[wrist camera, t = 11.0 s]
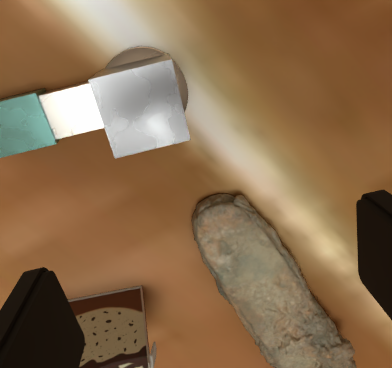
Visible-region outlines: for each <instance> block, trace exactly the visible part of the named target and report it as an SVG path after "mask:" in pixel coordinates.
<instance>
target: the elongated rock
mask: <svg viewBox="0 0 392 368" xmlns="http://www.w3.org/2000/svg"><path fill="white" fill-rule="evenodd" d="M192 225H193V234H194V240H195V241H196V242H197V244H198V248H199V250H200V252H201V256H202V259H203V262H204V263H205V265H206V266H207V267H208V268H209V270H210V272H211V274H212V275H213V276H214V278H215V279H216V284H217V286H218V290H219V293H220V294H221V295H222V296H224V298H225V299H226V300H228V301H229V304H231V305H232V306H233V307H234V309H235V311H236V313H237V314H238V316H239V318H240V320H241V321H242V323H243V325H244V327H245V329H246V330H247V331H248V332H249V333H250V335H251V336H252V337H253V338H254V339H255V344H256V345H257V346H259V348H260V351H261V352H260V353H261V355H263V356H264V357H265V359H266V361H267V362H268V363H270V365H271V366H273V367H275V368H356V364H355V361H354V360H353V357H352V356H353V354H355V350H354V349H353V347H352V345H351V343H350V341H349V340H347V339H343V338H342V336H341V335H340V334H339V333H338V331H337V329H336V326H335V324H334V322H333V321H332V320H331V319H330V318H329V316H327V314H326V313H325V312H324V310H323V309H322V307H321V306H320V305H319V304H318V303H317V301H316V300H315V298H314V297H313V296H312V294H311V293H310V290H309V289H308V287H307V284H306V281H305V279H304V278H303V276H302V275H301V272H300V270H299V267H298V265H297V263H296V262H295V260H294V258H293V257H292V256H291V255H290V254H289V253H288V251H287V249H286V248H285V247H284V246H282V244H281V241H280V239H279V237H278V235H277V233H276V231H275V230H274V229H273V228H272V227H271V226H270V225H269V224H268V223H266V221H265V220H264V219H263V218H262V217H261V216H260V215H258V214H257V212H256V210H255V209H253V207H252V206H250V205H249V203H248V201H247V200H246V199H245V198H244V196H243V195H237V196H236V197H233V196H232V195H230V194H217V195H213V196H210V197H208V198H206V199H204V200H202V201H201V202H200V203H198V205H197V206H196V210H195V212H194V213H193V217H192Z"/></svg>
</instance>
